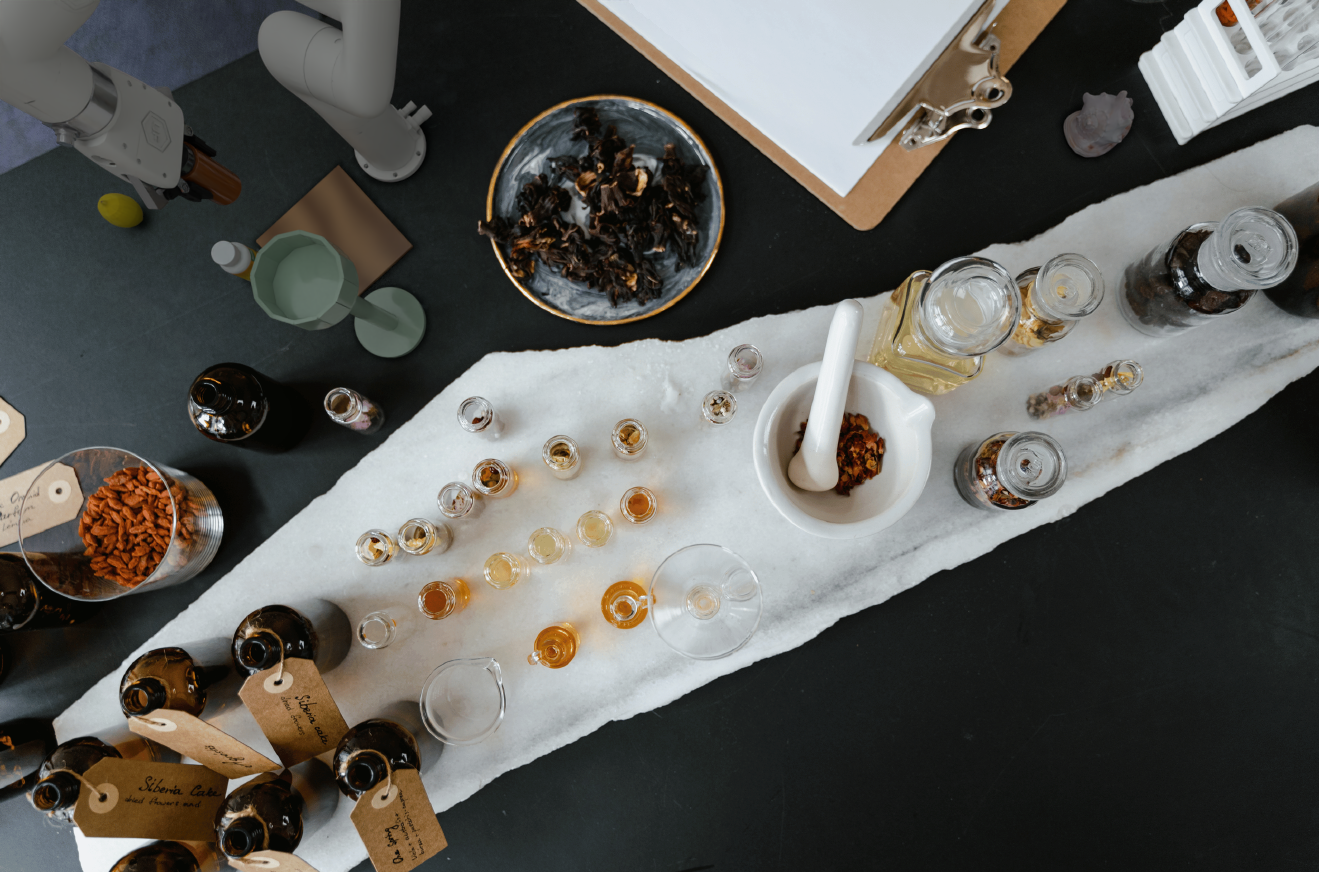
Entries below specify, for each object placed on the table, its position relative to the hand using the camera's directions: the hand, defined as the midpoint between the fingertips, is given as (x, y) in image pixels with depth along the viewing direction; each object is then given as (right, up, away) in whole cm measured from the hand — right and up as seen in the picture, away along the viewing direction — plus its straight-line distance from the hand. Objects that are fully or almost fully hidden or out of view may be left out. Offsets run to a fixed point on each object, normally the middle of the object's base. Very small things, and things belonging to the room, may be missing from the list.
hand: (202, 174), depth 84 cm
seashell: (+134, +20, +30) cm, 138 cm away
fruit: (-35, +6, +35) cm, 50 cm away
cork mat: (0, +1, +33) cm, 34 cm away
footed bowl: (+11, -13, +33) cm, 37 cm away
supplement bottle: (-13, -4, +34) cm, 37 cm away
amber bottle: (0, 0, +4) cm, 4 cm away
